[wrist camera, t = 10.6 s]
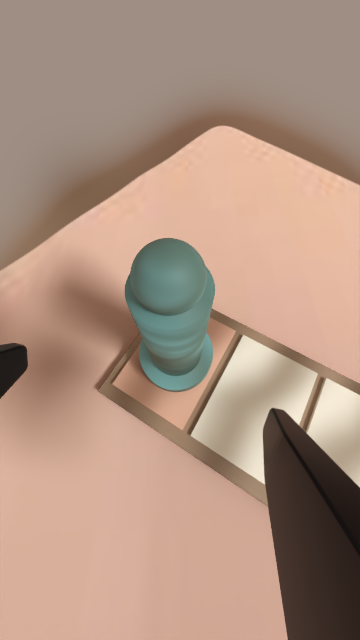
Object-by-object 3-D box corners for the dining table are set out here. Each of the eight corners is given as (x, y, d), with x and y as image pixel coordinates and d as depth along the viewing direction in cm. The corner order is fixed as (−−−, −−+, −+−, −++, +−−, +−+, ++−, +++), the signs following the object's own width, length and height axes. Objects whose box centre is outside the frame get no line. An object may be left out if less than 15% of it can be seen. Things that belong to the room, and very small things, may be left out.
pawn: (172, 408, 18) (153, 368, 7) (128, 353, 20) (52, 247, 8) (225, 359, 20) (284, 257, 8) (179, 313, 21) (175, 175, 10)
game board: (417, 417, 18) (427, 416, 18) (386, 585, 15) (398, 595, 14) (171, 291, 23) (171, 286, 23) (100, 392, 20) (96, 390, 19)
